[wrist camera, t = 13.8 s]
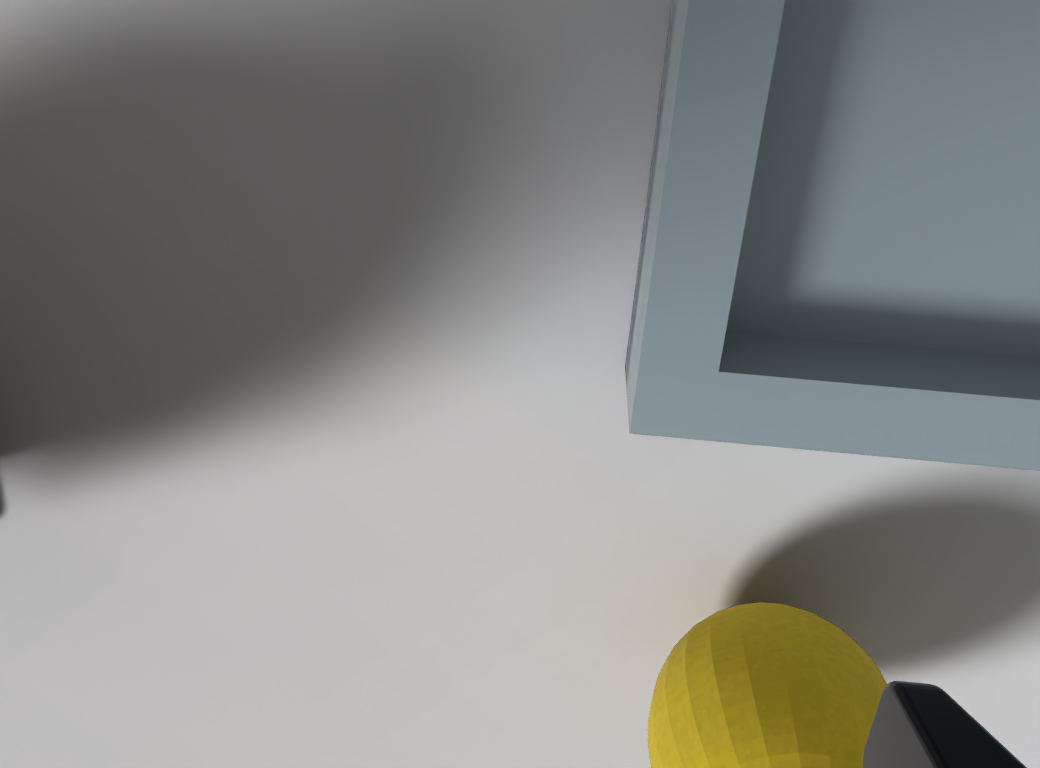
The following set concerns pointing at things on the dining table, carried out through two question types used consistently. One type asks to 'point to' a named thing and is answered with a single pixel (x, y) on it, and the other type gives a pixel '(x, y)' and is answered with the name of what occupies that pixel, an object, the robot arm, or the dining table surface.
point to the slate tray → (845, 230)
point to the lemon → (763, 693)
